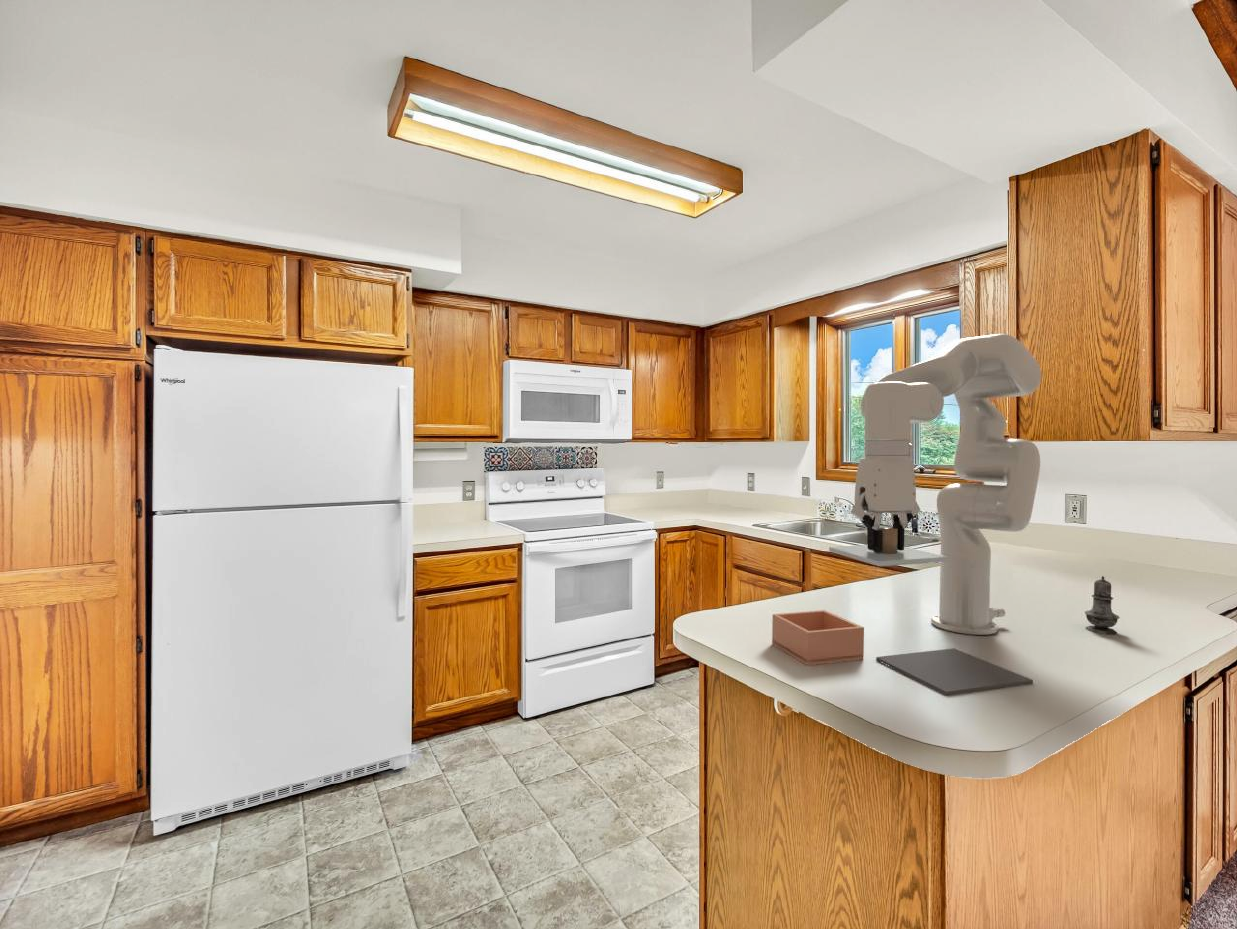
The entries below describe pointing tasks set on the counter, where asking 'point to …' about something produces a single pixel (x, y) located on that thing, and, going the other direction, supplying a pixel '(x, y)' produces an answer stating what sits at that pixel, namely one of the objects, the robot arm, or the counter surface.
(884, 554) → the lid
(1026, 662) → the counter surface
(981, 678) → the mat
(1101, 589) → the salt shaker
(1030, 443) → the robot arm
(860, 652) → the open storage tray
